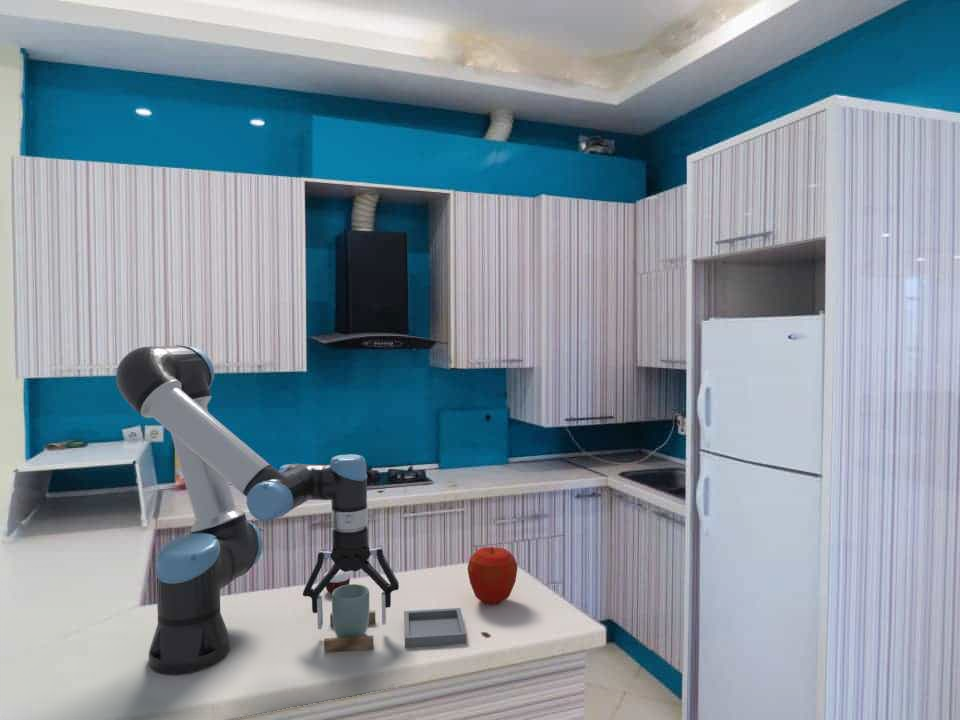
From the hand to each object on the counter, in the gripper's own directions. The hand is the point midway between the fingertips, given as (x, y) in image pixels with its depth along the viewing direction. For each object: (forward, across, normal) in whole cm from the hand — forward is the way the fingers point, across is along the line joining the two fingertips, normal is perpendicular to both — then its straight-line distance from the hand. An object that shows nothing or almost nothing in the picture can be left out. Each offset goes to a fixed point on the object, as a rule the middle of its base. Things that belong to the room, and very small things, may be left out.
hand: (352, 624), depth 137 cm
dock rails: (+3, 0, 0) cm, 3 cm away
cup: (+3, 0, 0) cm, 3 cm away
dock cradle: (+3, +18, 0) cm, 18 cm away
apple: (+3, +33, +13) cm, 35 cm away
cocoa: (+3, -5, +25) cm, 26 cm away
